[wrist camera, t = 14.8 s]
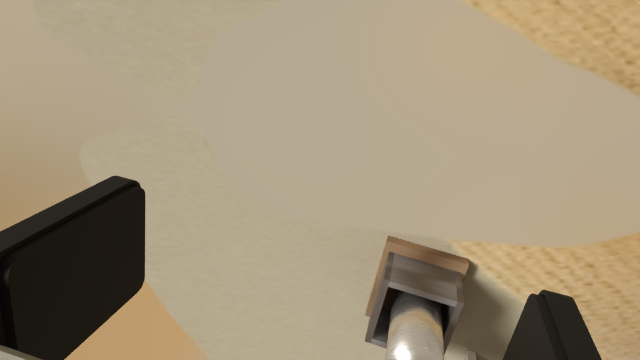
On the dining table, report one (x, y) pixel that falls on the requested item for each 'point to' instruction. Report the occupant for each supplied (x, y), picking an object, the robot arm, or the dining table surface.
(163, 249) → the dining table surface
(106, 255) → the robot arm
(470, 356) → the hinge
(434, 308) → the hinge pin
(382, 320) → the open cube shadow box
